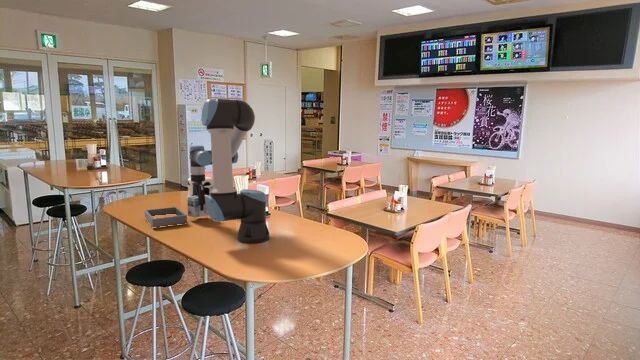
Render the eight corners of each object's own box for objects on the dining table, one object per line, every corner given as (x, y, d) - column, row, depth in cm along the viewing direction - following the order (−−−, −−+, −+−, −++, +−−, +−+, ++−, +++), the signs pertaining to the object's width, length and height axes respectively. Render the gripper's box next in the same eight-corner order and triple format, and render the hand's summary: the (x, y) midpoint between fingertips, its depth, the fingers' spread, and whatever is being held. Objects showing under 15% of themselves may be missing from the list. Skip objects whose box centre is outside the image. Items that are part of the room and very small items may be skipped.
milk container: (185, 204, 248) (184, 177, 245) (213, 202, 256) (212, 175, 253) (188, 210, 233) (187, 181, 230) (218, 208, 240) (217, 180, 237)
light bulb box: (194, 218, 208) (193, 198, 206) (187, 215, 212) (186, 196, 210) (211, 214, 217) (210, 195, 215) (203, 212, 221) (203, 193, 219)
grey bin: (187, 224, 205) (186, 215, 204) (152, 229, 195) (152, 219, 194) (176, 215, 223) (176, 206, 222) (144, 218, 213) (144, 210, 212)
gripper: (210, 175, 204) (212, 217, 208) (199, 171, 221) (200, 210, 225) (196, 176, 200) (198, 219, 204) (185, 172, 217) (187, 211, 221)
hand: (199, 214), depth 214 cm, fingers closed on light bulb box, 8 cm apart
